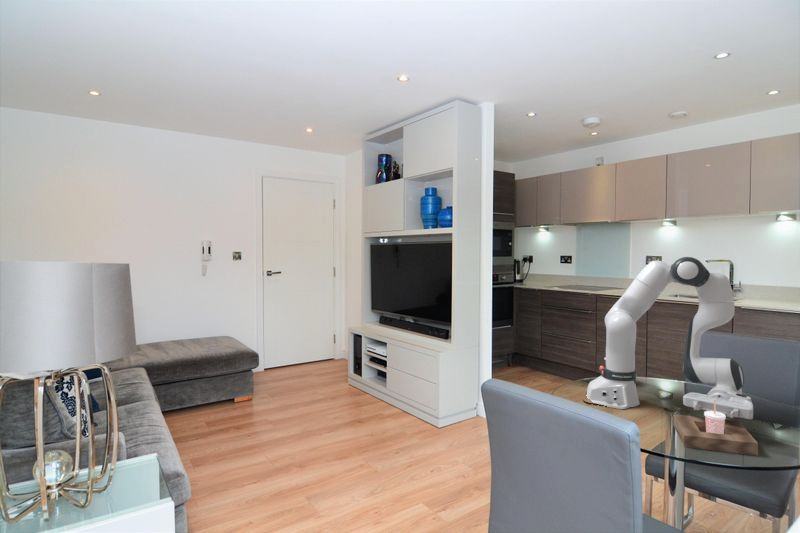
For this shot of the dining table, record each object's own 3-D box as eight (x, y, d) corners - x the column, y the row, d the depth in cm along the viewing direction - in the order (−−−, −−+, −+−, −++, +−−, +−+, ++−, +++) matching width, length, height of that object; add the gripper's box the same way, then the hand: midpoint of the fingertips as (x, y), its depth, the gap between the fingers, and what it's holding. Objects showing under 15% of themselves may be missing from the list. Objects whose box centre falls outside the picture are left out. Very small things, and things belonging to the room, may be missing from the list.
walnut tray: (684, 446, 146) (684, 435, 146) (673, 424, 163) (673, 414, 163) (758, 455, 139) (758, 443, 139) (739, 431, 155) (739, 420, 155)
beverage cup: (699, 438, 152) (699, 398, 151) (711, 434, 154) (711, 395, 154) (718, 445, 146) (718, 404, 146) (730, 441, 149) (730, 400, 148)
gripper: (688, 385, 167) (677, 395, 158) (756, 398, 153) (749, 410, 143) (688, 402, 168) (677, 413, 158) (756, 416, 153) (749, 429, 144)
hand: (712, 411), depth 151 cm, fingers open, 8 cm apart
